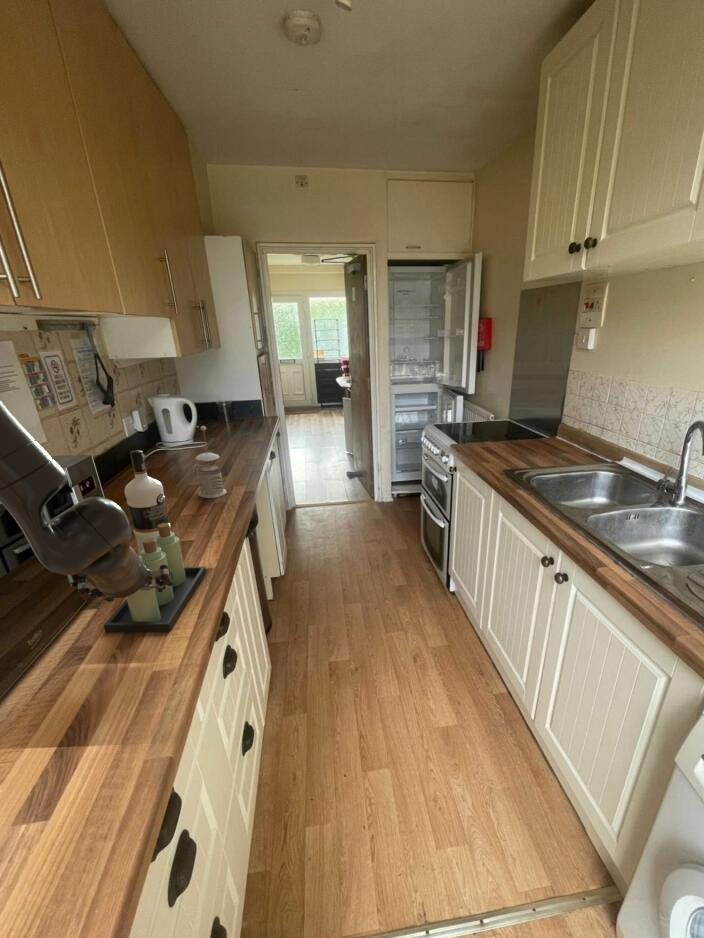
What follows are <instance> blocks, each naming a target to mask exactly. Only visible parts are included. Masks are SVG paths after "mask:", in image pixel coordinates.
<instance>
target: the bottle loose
mask: <svg viewBox="0 0 704 938" xmlns="http://www.w3.org/2000/svg"><path fill="white" fill-rule="evenodd" d="M138 557H139V556H138ZM145 567H146V566H145ZM145 585H146V584H145ZM126 599H127V603H128V607H129V611H130V615H131V618H132V622H159V621H160V619H161V615H160V610H159V606H158V601H157V597H156V592H155V588H154V589H151V590H138V591H137V592H135V593H134V594H132V595H130V596H127V597H125V600H126Z"/></svg>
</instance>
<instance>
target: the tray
mask: <svg viewBox="0 0 704 938" xmlns="http://www.w3.org/2000/svg"><path fill="white" fill-rule="evenodd" d="M206 568H207V567H206V566H203V565H202V566H184V569H185V575H186V581H185V582H184V583H183V584H181V585H178V586H175V587H172V588H173V593H174V599H173V600H172V601H171V602H169V603H167V604H165V605H161V606H159V610H160V615H161V619H160V621H159V622H132V618H131V615H130V611H129V607H128V603H127V599H126V598H125V599H124V601H123V602H122V603H121V604H120V605H119V607H118V608H117V609H116V610H115V611H114V612H113V614H112V615H111V616H110V617H109V618H108V620H107V621H106V622H105V623H104V624H103V628H104V631H105V633H106V634H115V633H116V634H117V633H122V634H123V633H169V632H171V631H172V630H173V628H174V626H175V625H176V623H177V621H178V620H179V618H180V617H181V615H182V614H183V611H185V608H186V607H187V605H188V604H189V602H190V601H191V598H192V597H193V595H194V594H195V592H196V591H197V589H198V588H199V586H200V584H201V583H202V580H203V579H204V577H205V576H206V574H207V569H206Z"/></svg>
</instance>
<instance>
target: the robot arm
mask: <svg viewBox="0 0 704 938" xmlns="http://www.w3.org/2000/svg"><path fill="white" fill-rule="evenodd" d="M67 482H68V474H67V473H66V471H65V470H64V468H63V467H62V466H61V465H60V464H59V463H58V462H57V461H56V460H55V459H54V458H53V457H52V455H50V454H49V452H48V451H47V450H46V449H45V448H44V447H43V446H42V445H41V444H40V443H39V442H38V441H37V440H36V438H35V437H33V435H32V434H31V433H30V432H29V431H28V430H27V429H26V428H25V427H24V426H23V425H22V424H21V422H19V421H18V419H17V418H16V417H15V416H14V415H13V414H12V412H11V411H10V410H9V409H8V408H7V406H6V405H5V404H4V403H3V401H2V400H1V399H0V503H1V505H2V506H3V507H4V508H5V509H6V510H7V511H8V513H9V514H10V515H11V516H12V517H13V519H14V521H15V522H16V524H17V525H18V527H19V528H20V529H21V531H22V533H23V535H24V537H25V538H26V540H27V542H28V545H29V546H30V548H31V550H32V552H33V554H34V555H35V557H36V558H37V561H39V562H40V564H41V565H42V566H43V567H44V568H45V569H47V570H48V571H50V572H52V573H53V574H57V575H60V576H74V575H77V574H78V573H79V574H81V575H82V576H84V577H85V578H78V579H77V595H79V596H80V597H81V598H82V599H83V601H86V602H90V601H93V600H94V598H97V600H103V601H107V603H111V602H114V599H123V598H126V597H127V596H130V595H132V594H134V593H135V592H137V591H138V590H151V589H154V588H156V589H157V590H158V592H163V589H166V585H167V586H172V585H174V581H173V573H172V571H171V570H170V568H169V567H168V566H167V565H161V566H160V568H159V569H158V570H157V571H151V570H149V569H146V567H145V565H144V564H143V562H142V561H141V560H140V558H139V557H138V553H137V552H136V551H135V550H134V548H132V547H131V541H132V527H131V523H130V520H129V518H128V516H127V514H126V512H125V511H124V510H123V508H121V506H120V505H119V504H117V503H116V502H115V501H113V500H111V499H110V498H109V499H108V498H107V497H103V496H90V497H86V498H84V499H82V500H80V501H79V502H77V503H75V504H73V505H72V506H71V507H69V508H68V509H66V510H65V511H63V512H62V513H60V514H57V516H55V517H54V518H51V520H49V521H46V519H45V517H44V510H45V509H44V508H45V506H46V505H47V503H48V502H49V501H50V500H51V499H52V498H53V497H54V496H55V495H56V494H58V492H59V491H61V490H62V489H63V487H64V486H65V485H66V484H67ZM154 578H155V580H154ZM155 581H156V583H155ZM145 584H146V585H145Z"/></svg>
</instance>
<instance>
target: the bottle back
mask: <svg viewBox="0 0 704 938" xmlns="http://www.w3.org/2000/svg"><path fill="white" fill-rule="evenodd" d="M169 523H170V522H169ZM169 523H161V524H159V525H158V531H159V534H157V536H156V538H157V540H155V541H156V546H157V547H160V548H161V551H162V552H165V554H166V558H167V563H168V567H169V568H170V570H171V571H172V573H173V581H174V585H172V587H175V586H178V585H181V584H183V583H184V582H185V581H186V575H185V569H184V567H185V563H184V559H183V554H182V548H181V543H180V537H178V536H176V535H175V532H174V531H170V530H171V525H170V526H169Z"/></svg>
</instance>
